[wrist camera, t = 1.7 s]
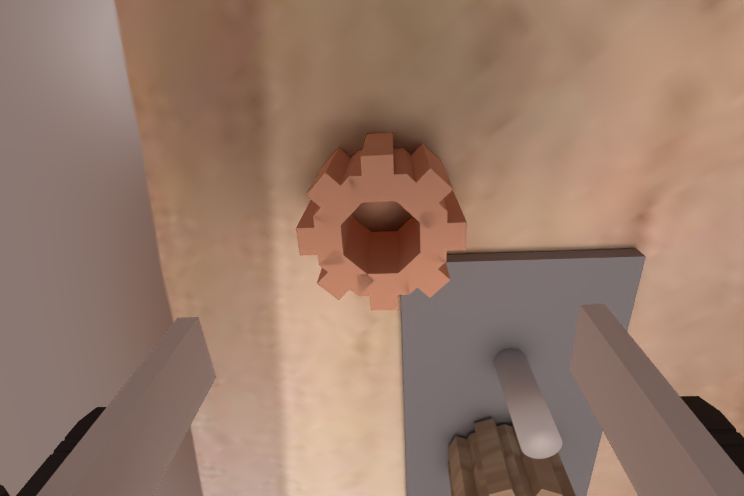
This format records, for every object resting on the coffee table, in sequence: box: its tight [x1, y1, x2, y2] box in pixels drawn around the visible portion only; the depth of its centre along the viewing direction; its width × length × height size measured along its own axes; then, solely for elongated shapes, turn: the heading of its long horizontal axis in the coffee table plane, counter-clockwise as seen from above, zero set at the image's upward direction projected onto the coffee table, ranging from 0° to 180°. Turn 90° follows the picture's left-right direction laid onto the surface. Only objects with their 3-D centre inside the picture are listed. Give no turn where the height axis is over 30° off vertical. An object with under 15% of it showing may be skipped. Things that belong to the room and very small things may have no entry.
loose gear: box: [296, 132, 467, 310], centre depth 25 cm, size 9×9×6 cm
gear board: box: [401, 249, 646, 496], centre depth 31 cm, size 26×16×9 cm, turn 3°
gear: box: [447, 418, 576, 496], centre depth 33 cm, size 9×9×6 cm
